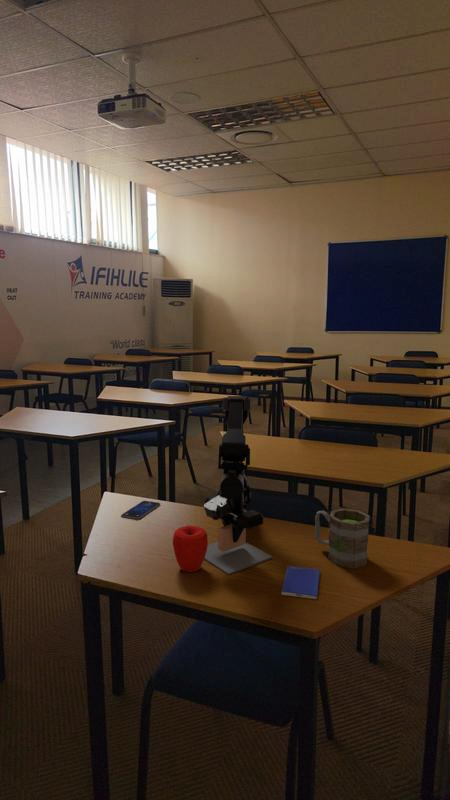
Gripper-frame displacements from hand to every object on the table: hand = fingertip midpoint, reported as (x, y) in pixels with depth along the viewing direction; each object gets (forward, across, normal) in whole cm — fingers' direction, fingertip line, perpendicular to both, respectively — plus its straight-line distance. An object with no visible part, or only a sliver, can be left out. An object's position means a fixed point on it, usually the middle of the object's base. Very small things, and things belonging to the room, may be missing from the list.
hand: (232, 540), depth 138 cm
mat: (+3, +1, -1) cm, 4 cm away
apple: (+4, 0, -14) cm, 15 cm away
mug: (+4, +19, +22) cm, 29 cm away
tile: (+2, 0, 0) cm, 2 cm away
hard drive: (+4, +23, +3) cm, 23 cm away
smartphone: (+4, -42, -5) cm, 42 cm away
